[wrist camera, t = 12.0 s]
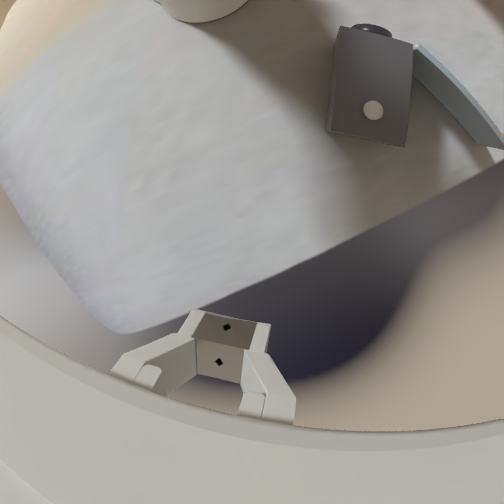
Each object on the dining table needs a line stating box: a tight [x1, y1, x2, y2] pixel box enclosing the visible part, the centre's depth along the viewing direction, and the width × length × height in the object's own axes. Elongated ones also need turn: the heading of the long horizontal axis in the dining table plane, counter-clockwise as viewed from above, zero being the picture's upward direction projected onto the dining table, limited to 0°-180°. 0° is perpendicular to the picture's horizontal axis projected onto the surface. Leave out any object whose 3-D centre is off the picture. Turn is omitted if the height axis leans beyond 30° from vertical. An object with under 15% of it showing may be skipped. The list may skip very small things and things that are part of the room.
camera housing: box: [326, 24, 413, 147], centre depth 26 cm, size 14×8×9 cm, turn 174°
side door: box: [412, 44, 504, 150], centre depth 24 cm, size 16×2×8 cm, turn 55°
